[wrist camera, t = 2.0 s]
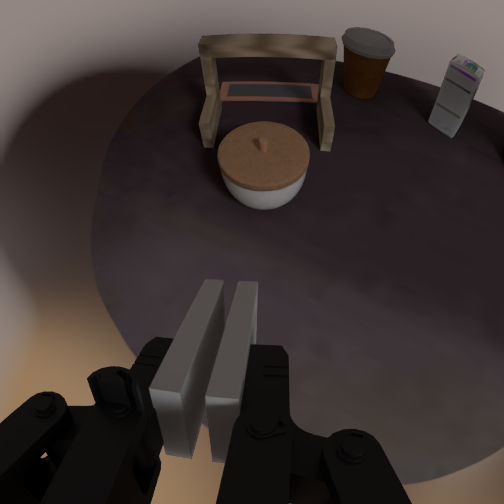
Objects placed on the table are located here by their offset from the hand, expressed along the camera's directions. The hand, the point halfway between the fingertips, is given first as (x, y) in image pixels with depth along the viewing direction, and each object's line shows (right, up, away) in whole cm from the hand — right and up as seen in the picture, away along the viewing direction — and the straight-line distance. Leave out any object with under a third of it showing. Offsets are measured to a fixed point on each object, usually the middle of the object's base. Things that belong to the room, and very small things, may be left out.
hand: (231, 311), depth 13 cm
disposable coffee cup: (+21, +33, +41) cm, 56 cm away
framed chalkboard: (+4, +31, +40) cm, 51 cm away
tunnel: (+3, +22, +36) cm, 42 cm away
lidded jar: (+2, +11, +30) cm, 32 cm away
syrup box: (+37, +26, +36) cm, 58 cm away
